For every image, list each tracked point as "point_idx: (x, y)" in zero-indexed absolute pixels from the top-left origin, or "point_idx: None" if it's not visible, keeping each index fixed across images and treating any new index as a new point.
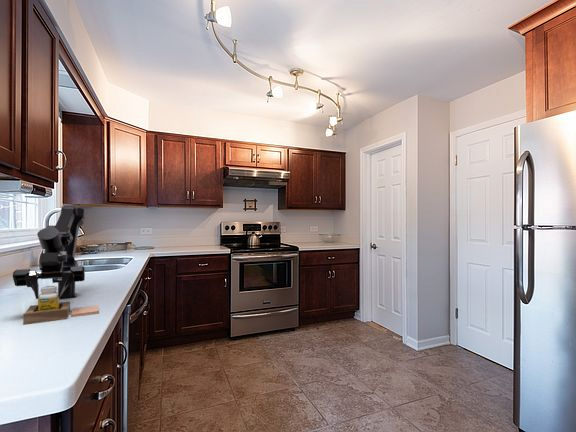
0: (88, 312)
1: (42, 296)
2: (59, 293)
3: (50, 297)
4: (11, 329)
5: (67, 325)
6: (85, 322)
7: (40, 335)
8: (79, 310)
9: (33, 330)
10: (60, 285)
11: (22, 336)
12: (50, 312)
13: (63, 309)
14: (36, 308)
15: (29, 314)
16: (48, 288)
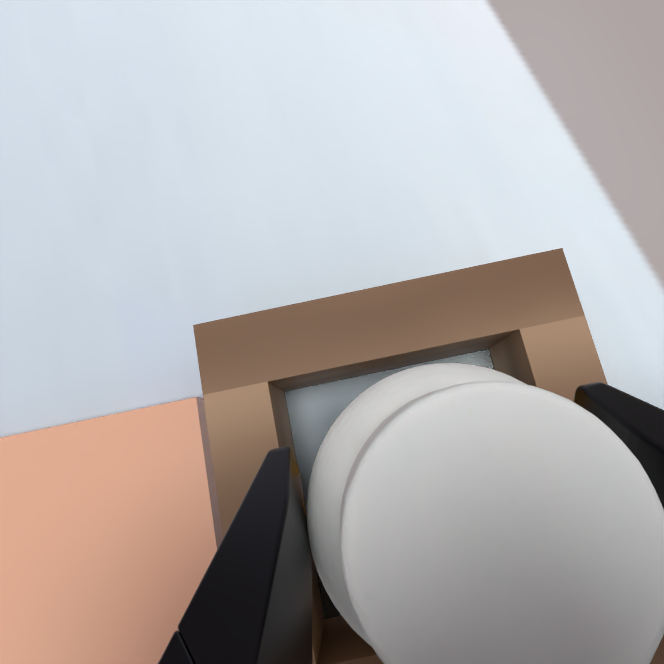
0: (54, 428)
1: (502, 376)
2: (275, 464)
3: (383, 379)
4: (551, 182)
5: (178, 163)
6: (65, 199)
7: (291, 6)
8: (147, 538)
9: (378, 115)
10: (258, 613)
11: (395, 16)
12: (339, 297)
13: (229, 329)
14: None
15: (511, 261)
16: (450, 387)
